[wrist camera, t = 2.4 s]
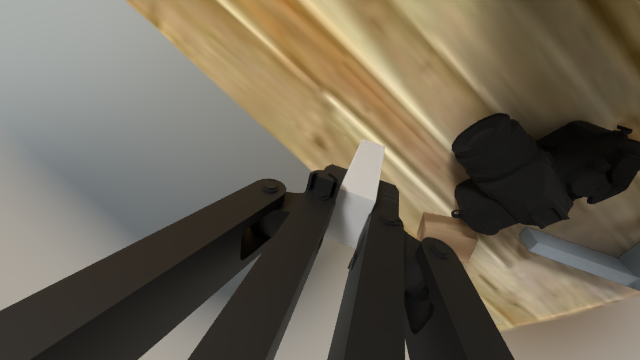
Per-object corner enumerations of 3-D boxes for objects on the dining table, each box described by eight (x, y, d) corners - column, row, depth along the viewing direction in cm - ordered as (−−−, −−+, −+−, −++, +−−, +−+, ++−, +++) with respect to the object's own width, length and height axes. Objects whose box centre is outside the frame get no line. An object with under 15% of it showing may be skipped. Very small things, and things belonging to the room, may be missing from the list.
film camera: (554, 68, 23) (630, 74, 15) (605, 141, 24) (699, 181, 17) (416, 159, 31) (421, 194, 23) (461, 211, 32) (480, 260, 24)
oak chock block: (423, 211, 34) (425, 229, 30) (470, 220, 32) (478, 239, 29) (417, 233, 36) (418, 251, 32) (460, 242, 34) (467, 263, 31)
